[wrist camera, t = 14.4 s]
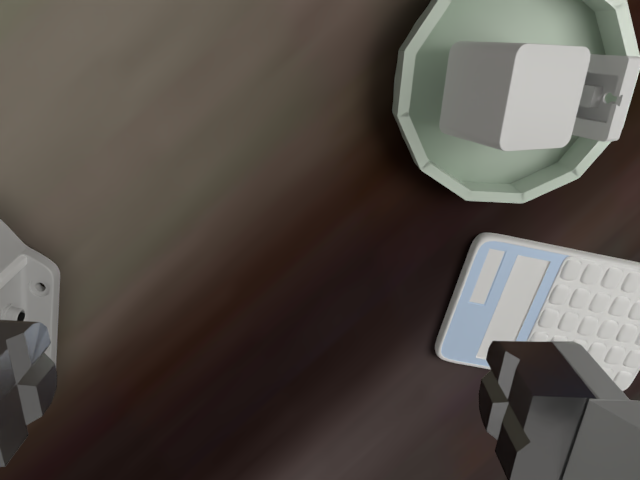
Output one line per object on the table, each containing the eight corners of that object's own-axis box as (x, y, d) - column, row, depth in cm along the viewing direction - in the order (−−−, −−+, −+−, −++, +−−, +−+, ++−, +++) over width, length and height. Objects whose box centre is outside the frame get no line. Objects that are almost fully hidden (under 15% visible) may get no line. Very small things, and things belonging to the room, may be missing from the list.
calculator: (617, 384, 49) (628, 397, 47) (429, 350, 47) (433, 362, 45) (681, 269, 44) (697, 278, 42) (474, 226, 42) (481, 234, 40)
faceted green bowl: (578, 194, 40) (599, 207, 37) (382, 185, 40) (388, 196, 37) (639, -30, 34) (670, -37, 31) (407, -44, 33) (416, -52, 30)
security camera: (555, 46, 36) (449, 40, 33) (644, 49, 31) (529, 42, 27) (536, 130, 39) (437, 134, 35) (616, 147, 33) (507, 155, 29)
